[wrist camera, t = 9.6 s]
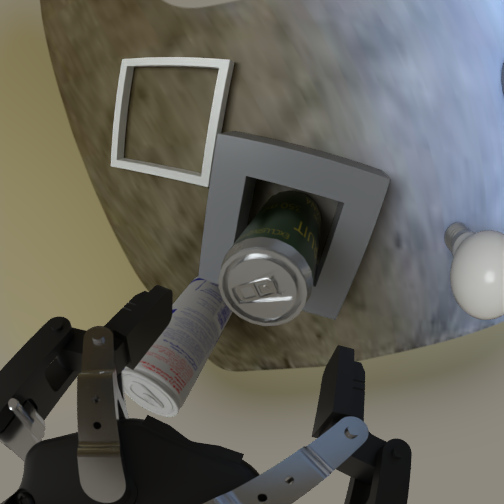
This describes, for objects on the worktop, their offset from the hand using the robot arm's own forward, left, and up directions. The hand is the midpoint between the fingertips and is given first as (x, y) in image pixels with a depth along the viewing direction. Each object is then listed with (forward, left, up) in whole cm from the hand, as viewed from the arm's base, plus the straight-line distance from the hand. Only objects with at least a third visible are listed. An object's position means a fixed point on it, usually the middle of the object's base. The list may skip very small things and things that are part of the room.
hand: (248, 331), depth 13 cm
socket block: (0, 0, -15) cm, 15 cm away
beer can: (0, 0, -15) cm, 15 cm away
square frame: (+14, -7, -15) cm, 22 cm away
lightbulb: (-15, -4, -15) cm, 22 cm away
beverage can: (+6, +11, -15) cm, 20 cm away
